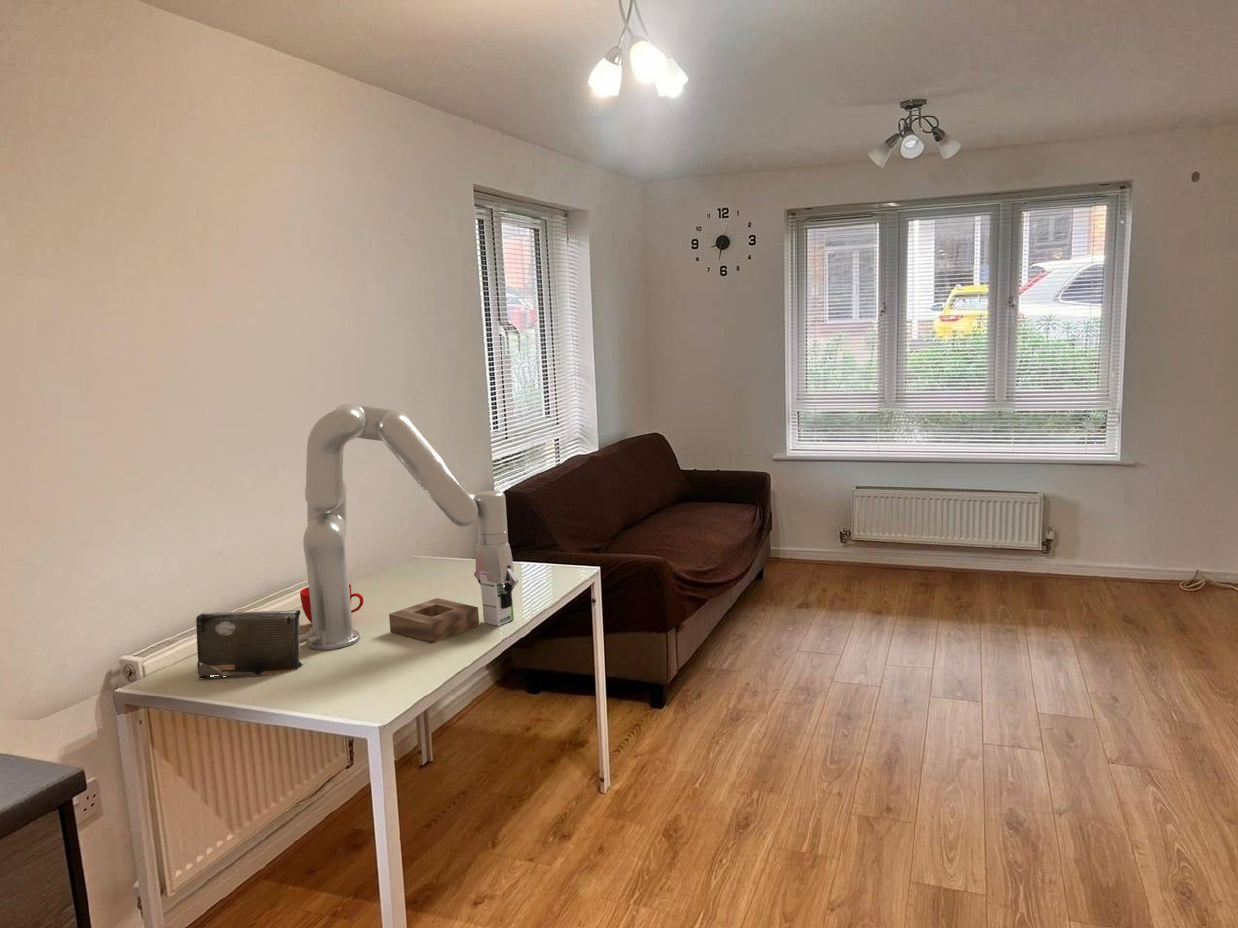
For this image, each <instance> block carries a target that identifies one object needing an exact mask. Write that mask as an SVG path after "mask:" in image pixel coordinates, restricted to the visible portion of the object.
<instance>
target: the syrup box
mask: <svg viewBox="0 0 1238 928" xmlns="http://www.w3.org/2000/svg"><path fill="white" fill-rule="evenodd" d="M487 573H489V572H487ZM489 574H491V573H489ZM489 574H488V575H489ZM480 581H481V585H480V589H481V590H480V592H481V593H480V594H481V600H482V601H481V604H482V614H483V615H482V616H483V623H485V624H487V623H488V625H491V624H492V626H496V625H497V626H498V627H501V625H504V624H507V623H509V621H510V622H511V620H512V621H514V620H515V617H514V606H513V605H514V604H513V603H514V602H513V593H512V592H513V591H512V592H511V604H512V605H511V606H510V607H508V608H505V609H502V608H501V596H500V595H501V594H502V591H501V588H500V584H496V583H492V582H489V581H488V580H487V577H486V573H485V572H483V571H480ZM505 581H506V580H505ZM504 585H505V588H506V586H507V585H506V583H505V584H504Z"/></svg>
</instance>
